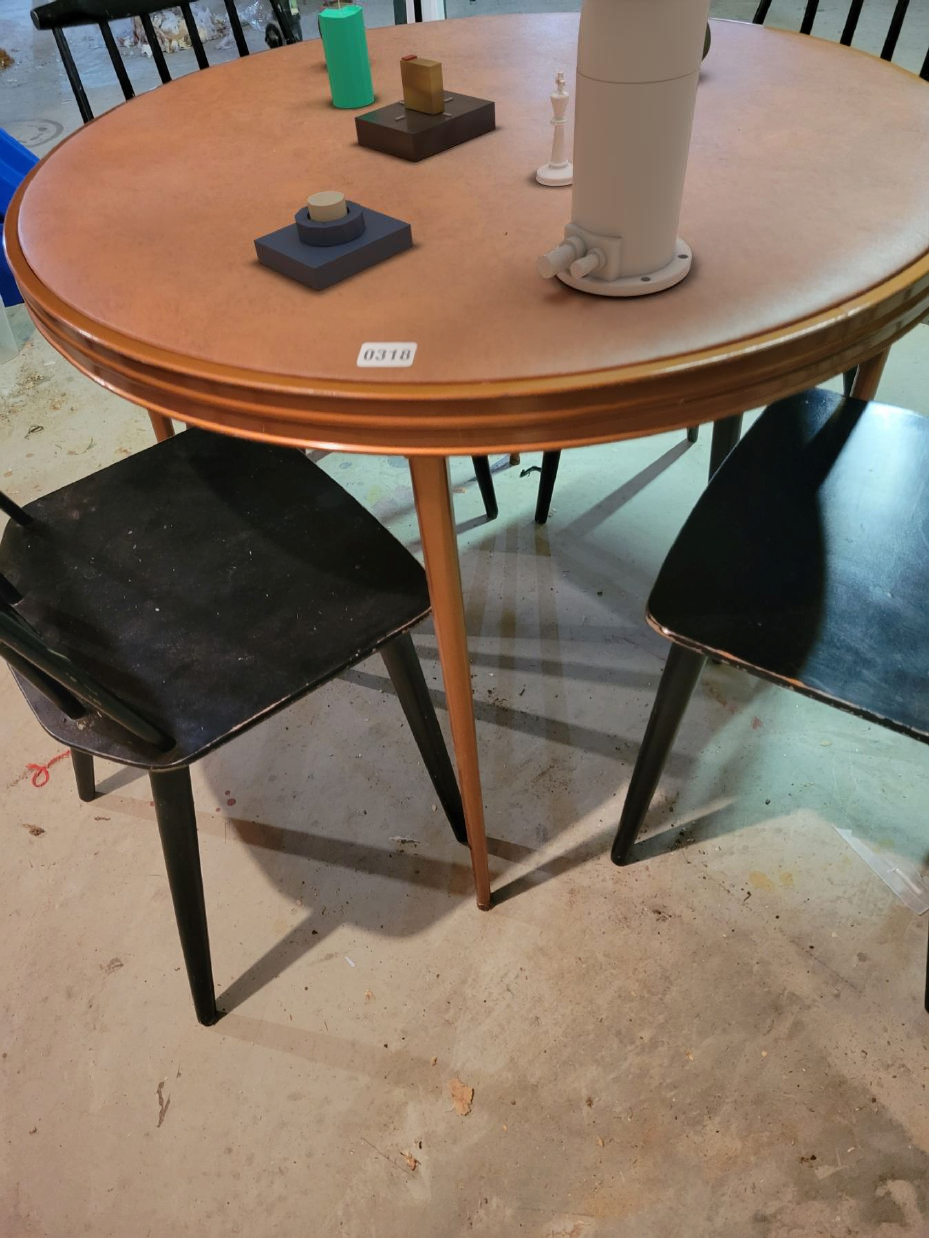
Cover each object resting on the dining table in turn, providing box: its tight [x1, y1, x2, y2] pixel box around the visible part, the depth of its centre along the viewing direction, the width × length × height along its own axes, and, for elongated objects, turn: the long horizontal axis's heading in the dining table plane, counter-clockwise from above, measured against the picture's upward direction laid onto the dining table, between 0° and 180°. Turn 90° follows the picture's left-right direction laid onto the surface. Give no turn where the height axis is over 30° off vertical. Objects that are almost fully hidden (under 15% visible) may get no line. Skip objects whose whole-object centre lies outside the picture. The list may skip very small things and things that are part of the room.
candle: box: [317, 0, 375, 109], centre depth 106 cm, size 6×6×12 cm
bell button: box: [306, 190, 348, 222], centre depth 74 cm, size 4×4×2 cm
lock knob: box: [399, 53, 445, 115], centre depth 95 cm, size 5×2×5 cm, turn 44°
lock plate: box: [354, 89, 496, 163], centre depth 98 cm, size 14×11×3 cm
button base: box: [253, 199, 414, 292], centre depth 76 cm, size 12×10×4 cm
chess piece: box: [535, 71, 573, 187], centre depth 83 cm, size 5×5×10 cm
